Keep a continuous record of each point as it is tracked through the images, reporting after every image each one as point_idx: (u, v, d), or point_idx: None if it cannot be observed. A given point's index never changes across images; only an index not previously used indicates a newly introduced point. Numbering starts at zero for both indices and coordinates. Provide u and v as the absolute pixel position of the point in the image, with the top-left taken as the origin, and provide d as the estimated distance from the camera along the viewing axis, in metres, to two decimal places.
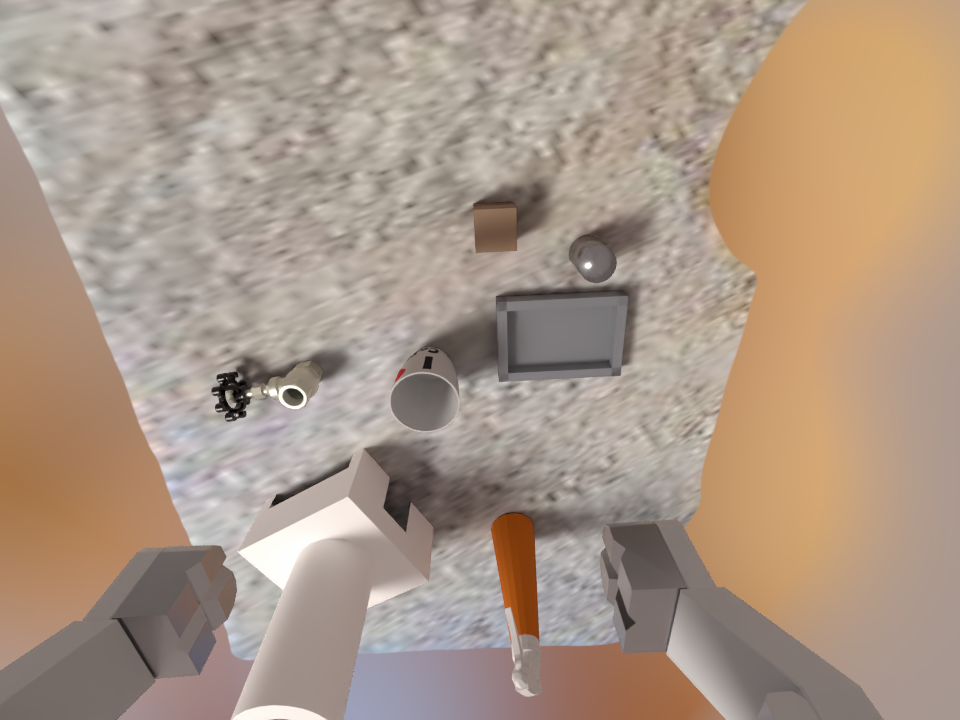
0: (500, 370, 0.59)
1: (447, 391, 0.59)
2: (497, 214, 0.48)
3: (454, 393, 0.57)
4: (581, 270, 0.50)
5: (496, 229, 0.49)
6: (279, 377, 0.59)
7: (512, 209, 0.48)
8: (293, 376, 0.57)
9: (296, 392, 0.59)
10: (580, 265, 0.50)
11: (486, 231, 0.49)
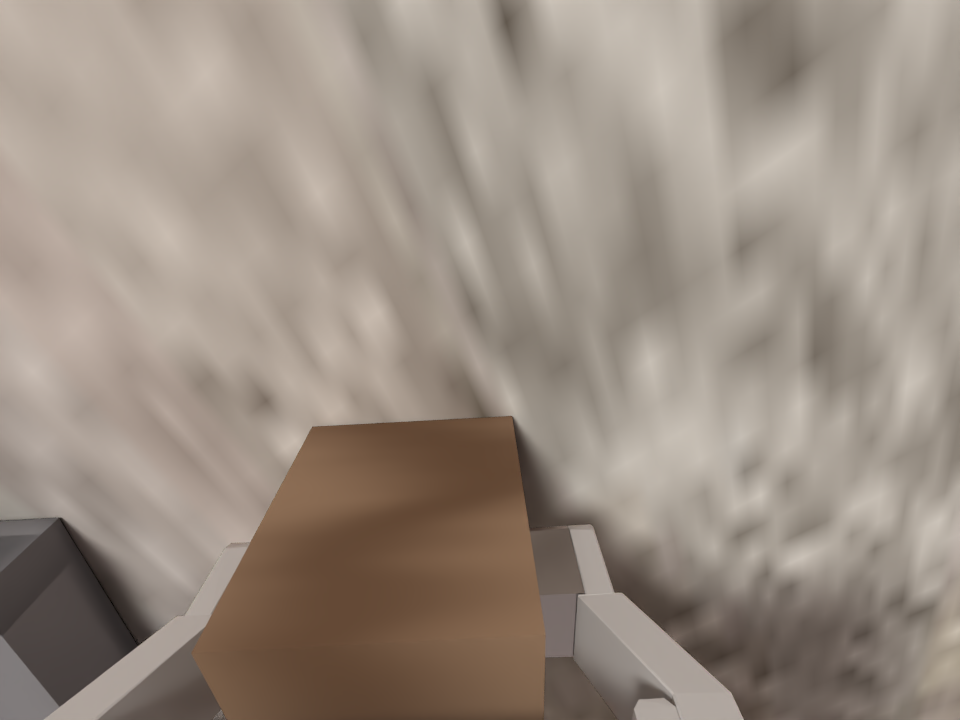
0: None
1: None
2: None
3: None
4: None
5: None
6: None
7: None
8: None
9: None
10: None
11: (376, 700, 0.06)
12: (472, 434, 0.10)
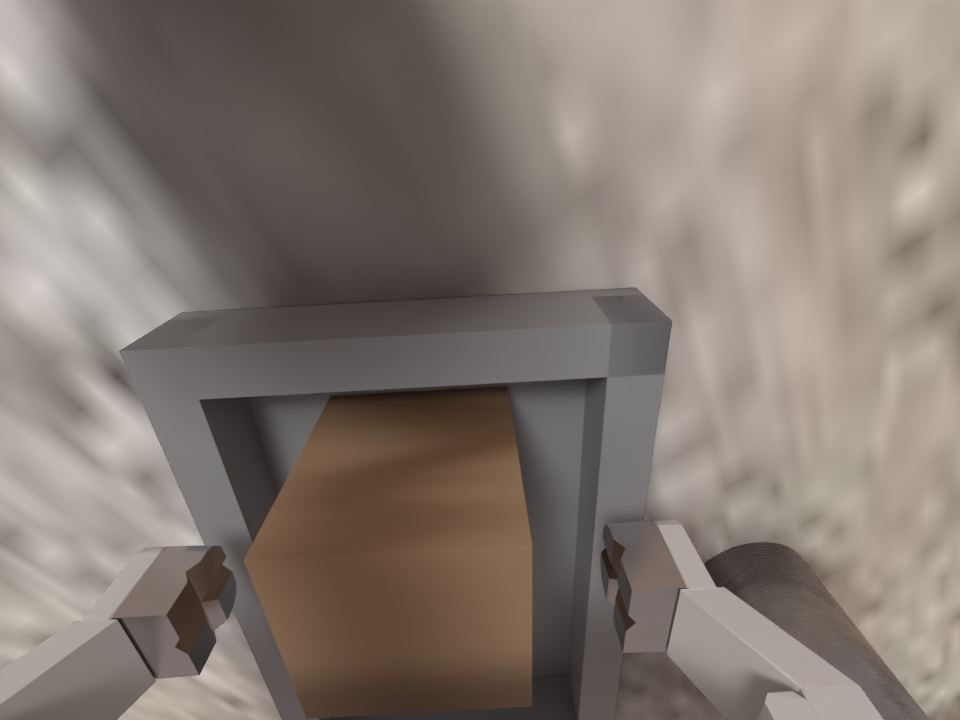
0: (206, 355, 0.09)
1: None
2: (499, 645, 0.08)
3: None
4: None
5: (414, 645, 0.08)
6: None
7: (524, 694, 0.09)
8: None
9: None
10: None
11: (392, 605, 0.08)
12: (471, 400, 0.11)
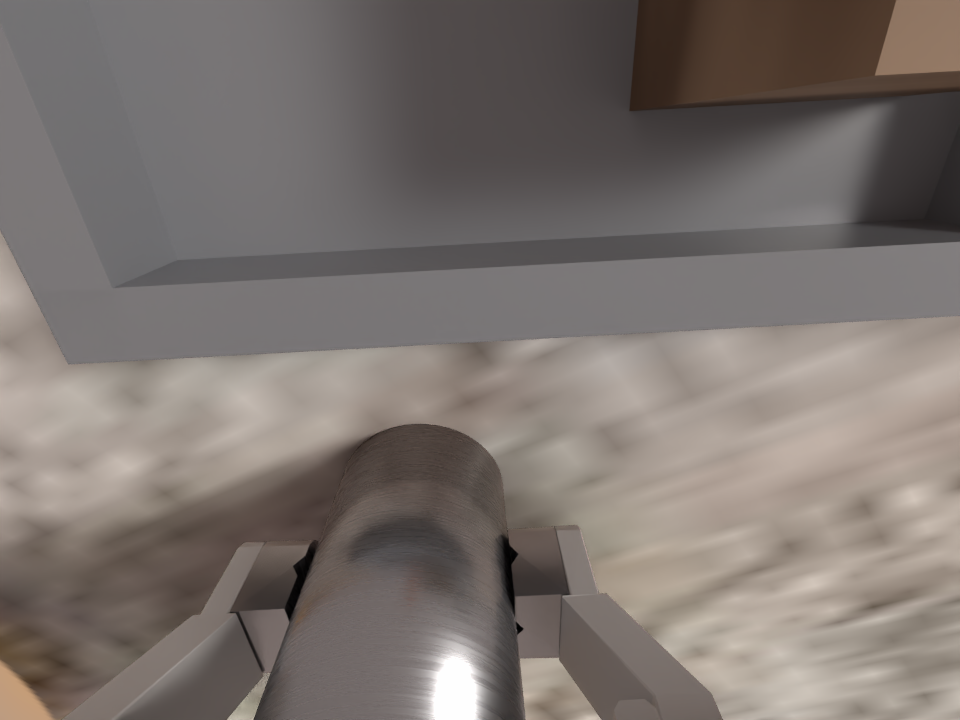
0: None
1: None
2: None
3: None
4: None
5: None
6: None
7: (950, 42, 0.03)
8: None
9: None
10: None
11: None
12: None
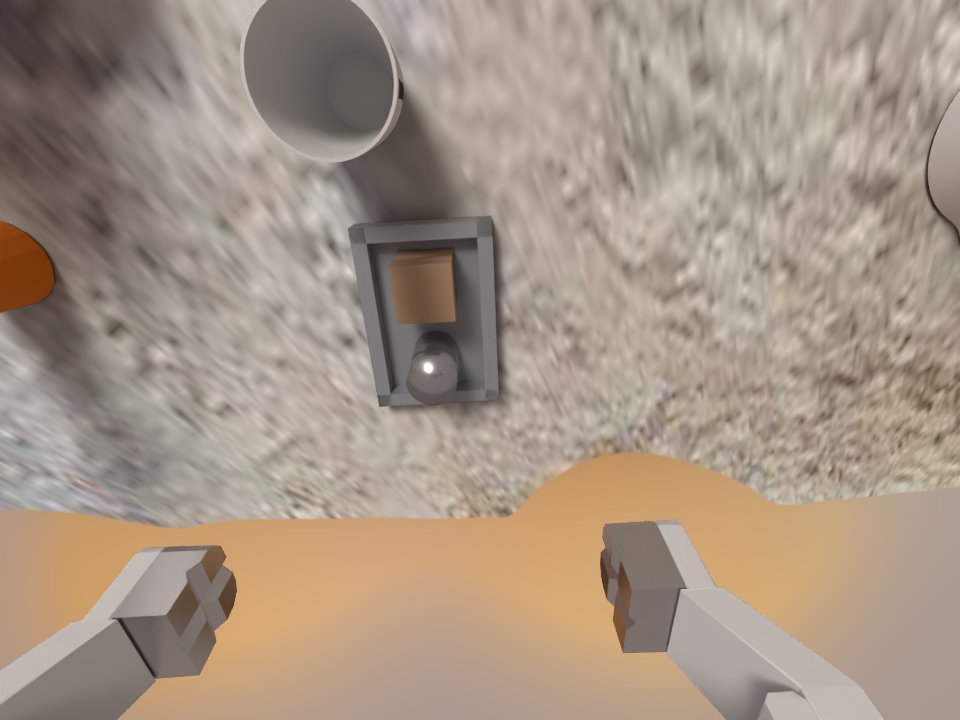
0: (370, 230, 0.35)
1: (320, 129, 0.31)
2: (445, 296, 0.34)
3: (327, 145, 0.29)
4: (453, 376, 0.36)
5: (425, 296, 0.34)
6: None
7: (453, 316, 0.35)
8: None
9: None
10: (456, 382, 0.36)
11: (420, 281, 0.33)
12: (441, 250, 0.37)
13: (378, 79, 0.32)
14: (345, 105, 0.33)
